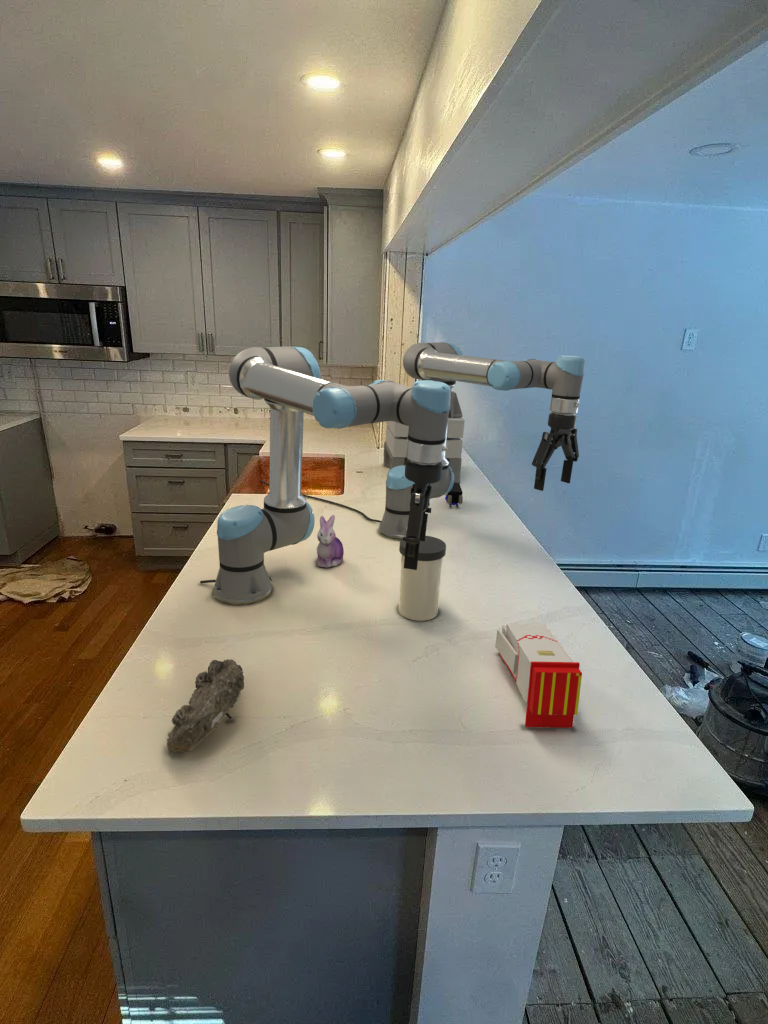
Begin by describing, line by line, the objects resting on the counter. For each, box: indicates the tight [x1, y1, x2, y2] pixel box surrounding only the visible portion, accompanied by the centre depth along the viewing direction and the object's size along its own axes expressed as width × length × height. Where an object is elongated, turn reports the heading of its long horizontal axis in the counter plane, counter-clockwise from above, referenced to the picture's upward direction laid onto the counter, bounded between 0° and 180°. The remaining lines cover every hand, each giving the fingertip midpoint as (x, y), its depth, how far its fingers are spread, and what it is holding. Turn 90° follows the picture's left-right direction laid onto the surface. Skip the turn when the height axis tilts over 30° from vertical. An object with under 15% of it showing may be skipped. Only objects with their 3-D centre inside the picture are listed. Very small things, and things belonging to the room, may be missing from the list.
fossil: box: [166, 658, 245, 754], centre depth 106 cm, size 22×10×15 cm
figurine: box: [316, 514, 345, 568], centre depth 173 cm, size 9×10×15 cm
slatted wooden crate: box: [383, 390, 465, 484], centre depth 268 cm, size 34×33×41 cm
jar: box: [398, 554, 443, 622], centre depth 147 cm, size 10×10×19 cm
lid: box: [398, 535, 447, 561], centre depth 144 cm, size 12×12×2 cm
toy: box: [494, 623, 583, 729], centre depth 120 cm, size 12×13×30 cm
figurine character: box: [444, 482, 464, 509], centre depth 232 cm, size 7×8×15 cm
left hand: (414, 553), depth 122 cm, fingers open, 13 cm apart
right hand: (552, 485), depth 166 cm, fingers open, 13 cm apart
